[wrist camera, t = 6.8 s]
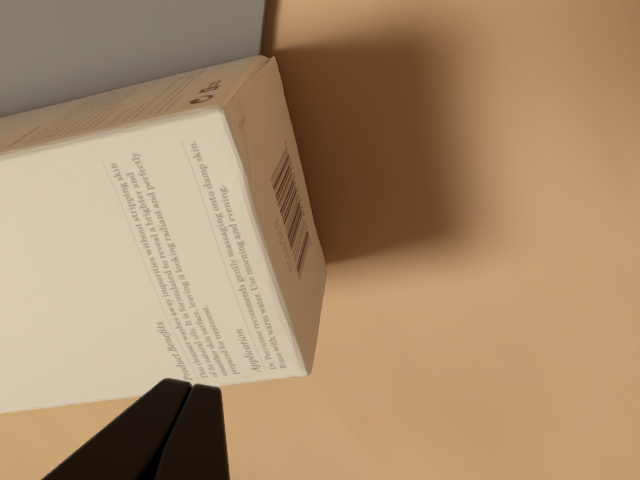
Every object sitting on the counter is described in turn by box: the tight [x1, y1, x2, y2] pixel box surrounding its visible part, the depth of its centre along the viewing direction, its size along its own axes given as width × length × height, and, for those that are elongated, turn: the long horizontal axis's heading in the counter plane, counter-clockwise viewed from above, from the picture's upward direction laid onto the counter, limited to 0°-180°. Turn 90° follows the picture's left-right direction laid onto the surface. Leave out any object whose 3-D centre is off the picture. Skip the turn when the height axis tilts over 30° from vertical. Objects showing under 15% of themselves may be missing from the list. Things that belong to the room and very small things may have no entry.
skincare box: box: [0, 55, 327, 413], centre depth 18 cm, size 8×6×15 cm
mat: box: [0, 0, 267, 118], centre depth 19 cm, size 16×14×1 cm
